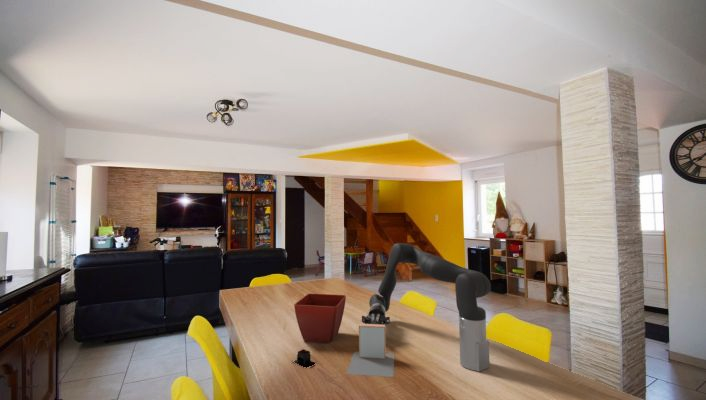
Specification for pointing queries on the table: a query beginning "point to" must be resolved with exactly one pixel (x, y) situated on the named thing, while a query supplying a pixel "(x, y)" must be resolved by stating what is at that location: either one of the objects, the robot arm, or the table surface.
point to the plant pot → (320, 316)
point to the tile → (372, 341)
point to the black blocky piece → (304, 358)
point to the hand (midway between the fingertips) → (374, 326)
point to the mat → (372, 366)
